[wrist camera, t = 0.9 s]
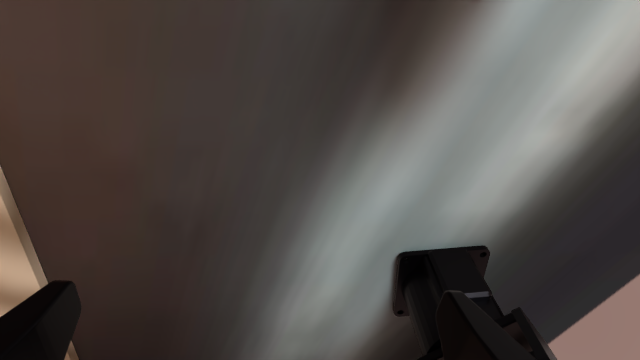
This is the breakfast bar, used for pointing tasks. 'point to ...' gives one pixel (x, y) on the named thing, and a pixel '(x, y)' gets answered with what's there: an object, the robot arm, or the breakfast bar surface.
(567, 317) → the breakfast bar surface
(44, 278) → the template board
